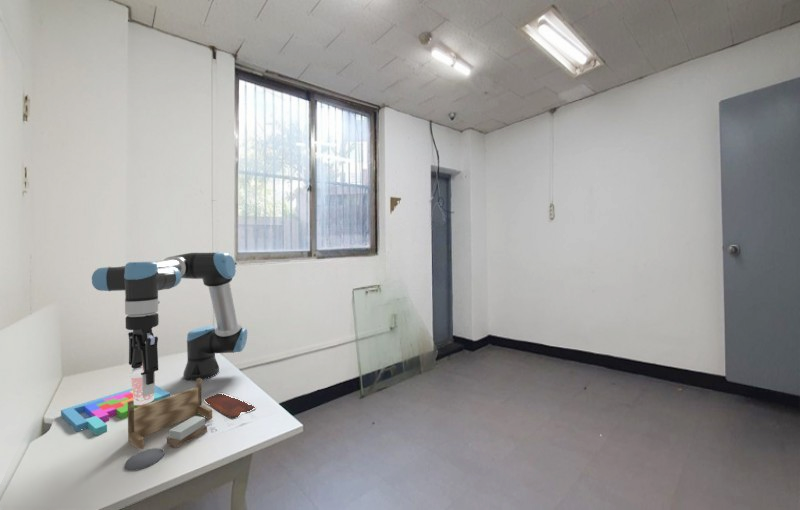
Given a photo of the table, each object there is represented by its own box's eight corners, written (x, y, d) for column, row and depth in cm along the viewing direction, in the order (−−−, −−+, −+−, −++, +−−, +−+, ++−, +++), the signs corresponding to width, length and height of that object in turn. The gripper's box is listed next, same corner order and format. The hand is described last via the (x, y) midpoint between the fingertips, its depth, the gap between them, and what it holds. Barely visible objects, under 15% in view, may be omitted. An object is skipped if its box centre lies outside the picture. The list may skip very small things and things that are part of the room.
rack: (200, 411, 121) (199, 378, 121) (212, 417, 116) (211, 382, 116) (128, 441, 102) (127, 401, 102) (139, 450, 98) (138, 408, 97)
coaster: (156, 446, 99) (156, 444, 99) (169, 456, 95) (169, 454, 95) (119, 463, 92) (119, 461, 92) (132, 474, 87) (132, 472, 87)
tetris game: (61, 417, 118) (84, 441, 103) (60, 410, 118) (84, 432, 103) (150, 388, 142) (180, 405, 127) (150, 382, 142) (179, 398, 127)
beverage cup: (143, 407, 89) (142, 358, 89) (124, 405, 90) (123, 357, 90) (162, 397, 95) (161, 351, 95) (144, 395, 96) (143, 350, 96)
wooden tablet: (258, 410, 123) (258, 406, 123) (232, 421, 115) (232, 417, 115) (224, 392, 138) (224, 388, 138) (199, 401, 130) (199, 397, 130)
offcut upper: (194, 422, 109) (194, 415, 109) (205, 424, 108) (205, 417, 108) (169, 437, 101) (169, 430, 101) (180, 440, 99) (180, 432, 99)
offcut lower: (198, 429, 110) (198, 422, 110) (207, 433, 108) (206, 425, 107) (166, 445, 101) (166, 437, 101) (174, 449, 99) (174, 441, 99)
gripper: (172, 315, 91) (173, 394, 91) (144, 308, 101) (145, 380, 101) (140, 320, 84) (141, 405, 85) (113, 312, 94) (115, 389, 95)
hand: (143, 391), depth 93 cm, fingers closed on beverage cup, 6 cm apart
